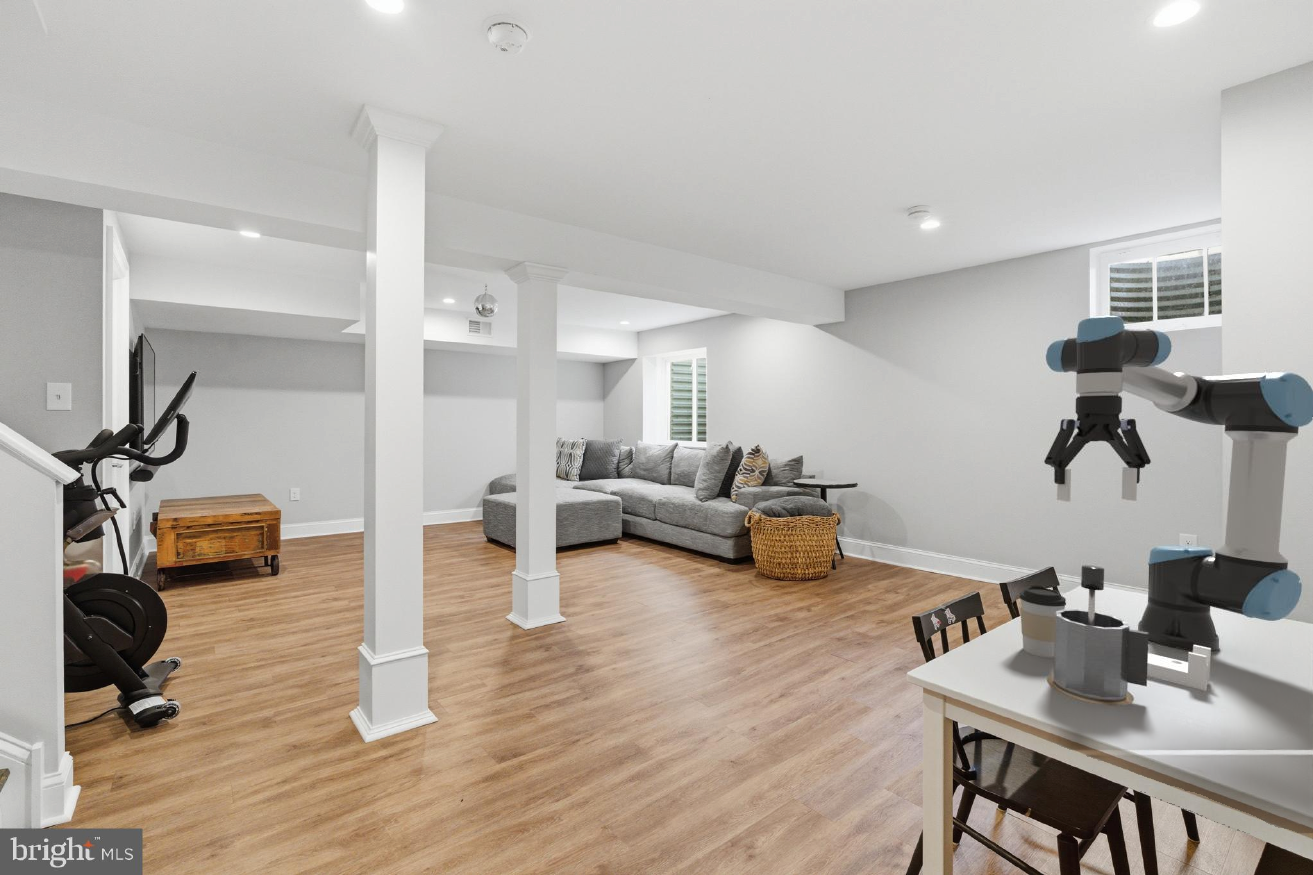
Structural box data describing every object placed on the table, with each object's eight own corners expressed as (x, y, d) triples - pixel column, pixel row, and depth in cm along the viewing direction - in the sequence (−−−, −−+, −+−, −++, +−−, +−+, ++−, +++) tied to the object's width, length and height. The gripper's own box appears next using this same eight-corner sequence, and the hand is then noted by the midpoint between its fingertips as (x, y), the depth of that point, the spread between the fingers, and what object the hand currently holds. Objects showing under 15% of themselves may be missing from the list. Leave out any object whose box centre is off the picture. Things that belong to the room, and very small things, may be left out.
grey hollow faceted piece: (1102, 675, 126) (1105, 609, 125) (1150, 702, 114) (1153, 629, 113) (1040, 675, 125) (1042, 609, 125) (1081, 702, 113) (1083, 629, 113)
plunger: (1094, 659, 123) (1097, 562, 123) (1125, 675, 115) (1129, 572, 115) (1055, 658, 123) (1058, 562, 123) (1084, 675, 115) (1087, 572, 115)
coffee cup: (1072, 663, 133) (1074, 596, 133) (1027, 659, 135) (1029, 593, 135) (1053, 648, 142) (1055, 585, 142) (1011, 645, 144) (1013, 582, 143)
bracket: (1209, 684, 124) (1210, 648, 124) (1204, 694, 119) (1205, 656, 119) (1130, 664, 134) (1131, 631, 133) (1122, 673, 129) (1124, 638, 129)
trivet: (1097, 676, 127) (1097, 673, 127) (1153, 708, 113) (1153, 705, 113) (1031, 676, 126) (1031, 673, 126) (1079, 708, 112) (1079, 705, 112)
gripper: (1142, 395, 125) (1140, 496, 126) (1025, 395, 124) (1024, 498, 125) (1175, 394, 118) (1172, 502, 118) (1050, 394, 117) (1049, 503, 118)
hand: (1096, 500), depth 122 cm, fingers open, 13 cm apart
